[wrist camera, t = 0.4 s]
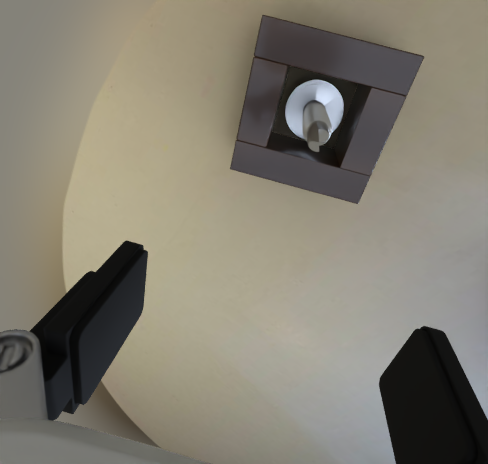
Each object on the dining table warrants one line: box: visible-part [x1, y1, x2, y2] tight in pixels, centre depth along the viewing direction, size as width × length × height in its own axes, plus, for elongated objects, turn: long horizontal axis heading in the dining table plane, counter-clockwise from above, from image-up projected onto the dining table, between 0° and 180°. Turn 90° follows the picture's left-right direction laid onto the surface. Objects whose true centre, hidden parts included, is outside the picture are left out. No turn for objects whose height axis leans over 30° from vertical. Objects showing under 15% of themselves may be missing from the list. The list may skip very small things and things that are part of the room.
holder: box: [230, 15, 424, 204], centre depth 27 cm, size 11×11×6 cm
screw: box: [285, 80, 344, 152], centre depth 24 cm, size 13×5×5 cm
